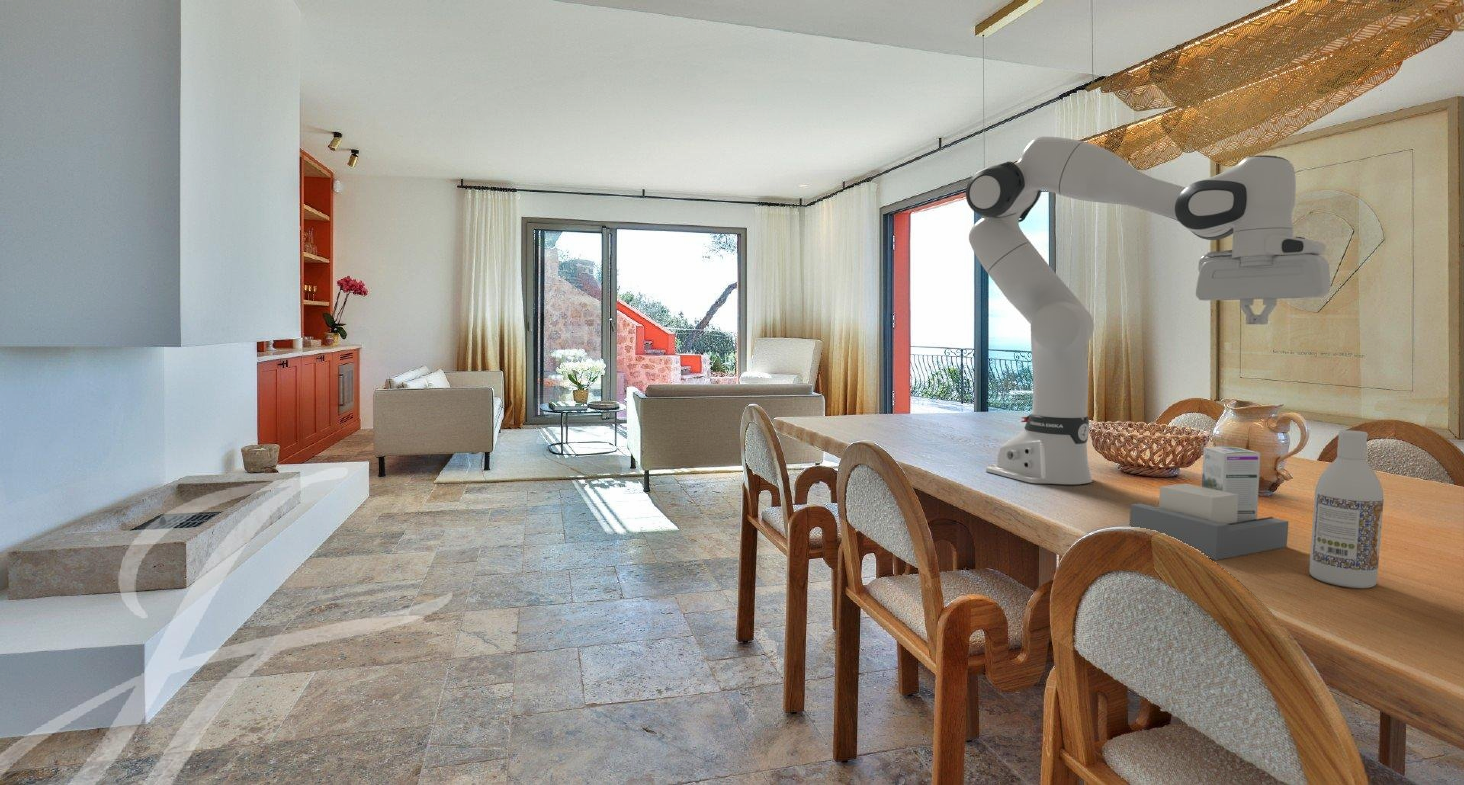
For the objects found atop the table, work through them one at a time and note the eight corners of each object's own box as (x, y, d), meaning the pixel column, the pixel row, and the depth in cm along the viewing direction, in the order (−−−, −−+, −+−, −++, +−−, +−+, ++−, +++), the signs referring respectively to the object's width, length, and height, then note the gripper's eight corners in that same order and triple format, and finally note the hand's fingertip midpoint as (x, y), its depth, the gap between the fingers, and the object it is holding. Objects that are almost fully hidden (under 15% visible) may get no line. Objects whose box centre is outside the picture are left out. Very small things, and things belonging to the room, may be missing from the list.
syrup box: (1257, 544, 115) (1263, 451, 113) (1218, 543, 115) (1224, 451, 113) (1233, 533, 120) (1239, 446, 119) (1196, 533, 120) (1202, 445, 119)
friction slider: (1182, 531, 120) (1185, 483, 120) (1235, 545, 113) (1238, 494, 112) (1157, 535, 118) (1160, 486, 117) (1209, 550, 110) (1212, 497, 110)
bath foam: (1381, 593, 93) (1393, 437, 92) (1311, 583, 97) (1322, 432, 95) (1371, 577, 99) (1383, 430, 97) (1306, 568, 103) (1316, 426, 101)
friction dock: (1197, 524, 126) (1199, 495, 126) (1286, 546, 113) (1288, 514, 113) (1128, 535, 119) (1130, 504, 119) (1215, 560, 107) (1217, 526, 106)
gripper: (1191, 251, 140) (1187, 324, 141) (1322, 241, 123) (1316, 324, 124) (1207, 253, 144) (1203, 324, 145) (1336, 243, 127) (1330, 324, 128)
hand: (1256, 324), depth 135 cm, fingers closed
